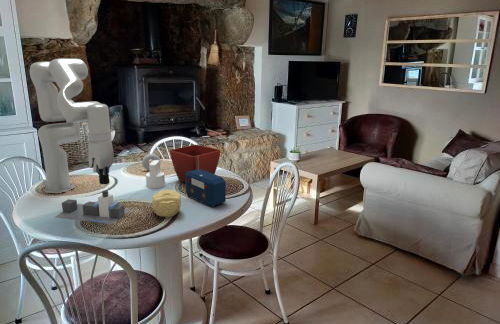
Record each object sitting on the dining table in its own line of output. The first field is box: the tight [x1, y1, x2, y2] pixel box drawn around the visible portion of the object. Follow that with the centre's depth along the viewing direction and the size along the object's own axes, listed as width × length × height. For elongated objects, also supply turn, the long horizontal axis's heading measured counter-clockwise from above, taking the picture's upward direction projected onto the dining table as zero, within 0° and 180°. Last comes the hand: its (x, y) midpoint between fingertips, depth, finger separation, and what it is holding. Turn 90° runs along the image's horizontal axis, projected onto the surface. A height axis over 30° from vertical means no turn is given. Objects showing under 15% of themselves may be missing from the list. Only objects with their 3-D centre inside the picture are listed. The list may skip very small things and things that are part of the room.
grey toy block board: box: [54, 198, 132, 228], centre depth 147 cm, size 25×14×6 cm, turn 78°
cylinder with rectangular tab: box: [145, 159, 166, 189], centre depth 183 cm, size 9×9×12 cm
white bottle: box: [97, 189, 115, 217], centre depth 145 cm, size 4×4×10 cm
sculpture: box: [151, 189, 182, 218], centre depth 150 cm, size 11×12×11 cm
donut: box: [141, 153, 161, 171], centre depth 207 cm, size 10×4×10 cm, turn 112°
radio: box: [185, 160, 227, 207], centre depth 165 cm, size 21×9×20 cm, turn 45°
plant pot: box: [169, 144, 222, 183], centre depth 191 cm, size 19×19×17 cm
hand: (104, 183), depth 142 cm, fingers closed
